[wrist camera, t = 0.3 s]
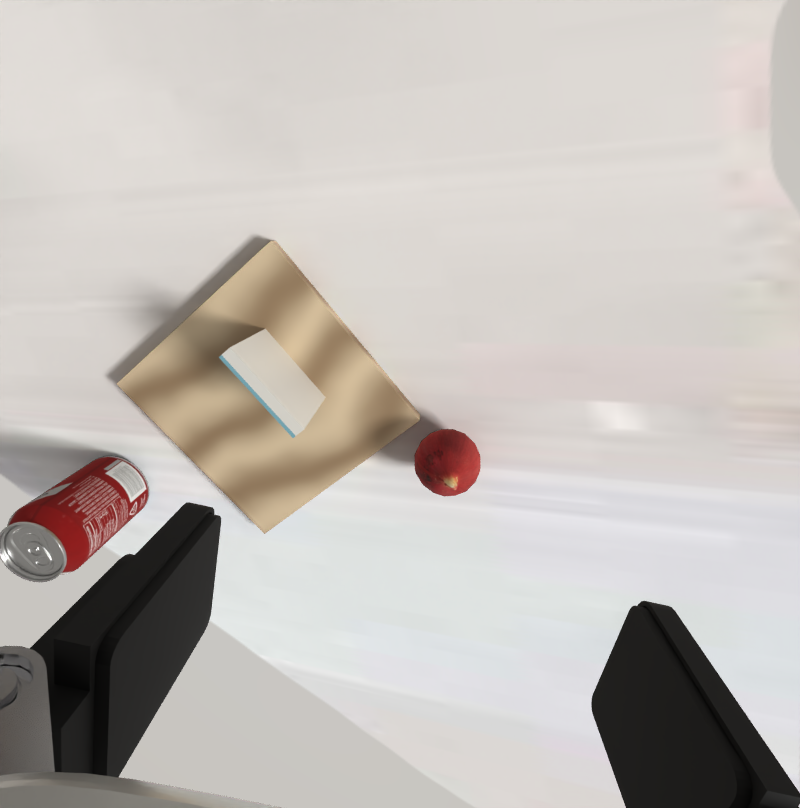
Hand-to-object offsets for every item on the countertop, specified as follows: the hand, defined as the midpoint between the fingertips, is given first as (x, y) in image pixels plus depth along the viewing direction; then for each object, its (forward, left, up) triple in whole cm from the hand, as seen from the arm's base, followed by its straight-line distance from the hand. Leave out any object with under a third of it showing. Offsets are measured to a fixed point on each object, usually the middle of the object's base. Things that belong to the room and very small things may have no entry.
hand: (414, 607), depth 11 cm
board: (-4, -15, -35) cm, 38 cm away
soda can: (-7, -34, -35) cm, 49 cm away
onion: (+10, -5, -35) cm, 36 cm away
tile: (-5, -11, -33) cm, 35 cm away
